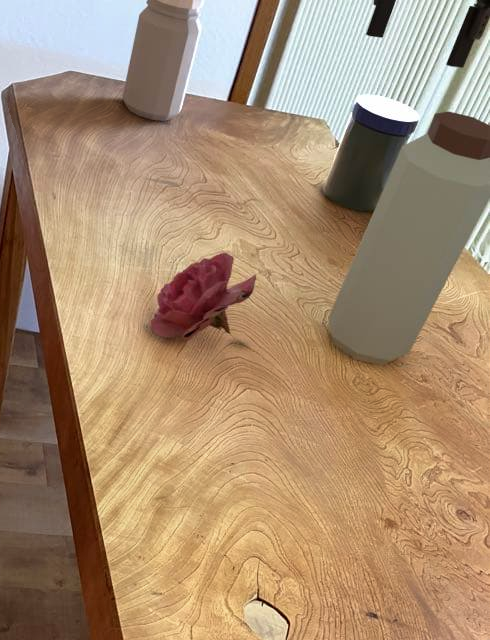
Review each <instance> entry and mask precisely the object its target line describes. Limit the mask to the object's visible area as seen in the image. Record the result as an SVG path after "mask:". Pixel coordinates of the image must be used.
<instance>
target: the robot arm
mask: <svg viewBox="0 0 490 640" xmlns="http://www.w3.org/2000/svg"><path fill="white" fill-rule="evenodd" d="M396 3H397V0H373V3H372V5H373V6H375V7H374V9H373V13H372V15H371V19H370V21H369V24H368V27H367V29H366V33H365V36H368V37H371V38H379V39H383V38H384V36H385V33H386V30H387V27H388V24H389V21H390V20H391V19H390V18H391V16H392V13H393V10H394V7H395V4H396ZM489 21H490V0H476V2H475V3H473V5H469V7H468V9H467V10H466V14H465V17H464V19H463V21H462V24H461V25H460V26H461V27H460V28H459V31H458V34H457V36H456V38H455V41H454V44H453V46H452V48H451V51H450V54H449V56H448V58H447V61H446V63H445V65H446V66H449V67H453V68H462V69H464V67H465V65H466V63H467V60H468V57H469V55H470V53H471V50H472V47H473V45H474V43H475V40H480V39H481V38H482V37H483V35H484V32H485V30H486V27H487V25H488V23H489Z"/></svg>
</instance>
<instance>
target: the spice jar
mask: <svg viewBox="0 0 490 640" xmlns="http://www.w3.org/2000/svg"><path fill="white" fill-rule="evenodd" d="M350 113H351V112H350ZM412 135H413V133H412V134H410V135H393V134H388V133H384V132H381V131H378V130H375V129H372V128H370V127H367V126H365V125H364V124H362V123H360V122H359V121H357V120H356V119H355V118H354V117H353V116H352V113H351V114H350V117H349V118H348V121H347V124H346V126H345V129H344V132H343V135H342V137H341V140H340V142H339V145H338V147H337V151H336V152H335V155H334V158H333V161H332V163H331V166H330V168H329V170H328V174H327V176H326V179H325V182H324V184H323V186H322V192H323V194H324V195H325V196H326V198H328V199H329V200H331V201H332V202H334V203H336V204H337V205H340V206H341V207H345V208H347V209H351V210H354V211H359V212H374V210H375V208H376V206H377V203H378V201H379V199H380V197H381V194H382V192H383V190H384V187H385V185H386V183H387V180H388V178H389V176H390V173H391V171H392V169H393V166H394V164H395V162H396V159H397V157H398V155H399V152H400V150H401V148H402V146H404V145H406V144H408V143H409V142H410V139H411V137H412Z"/></svg>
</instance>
